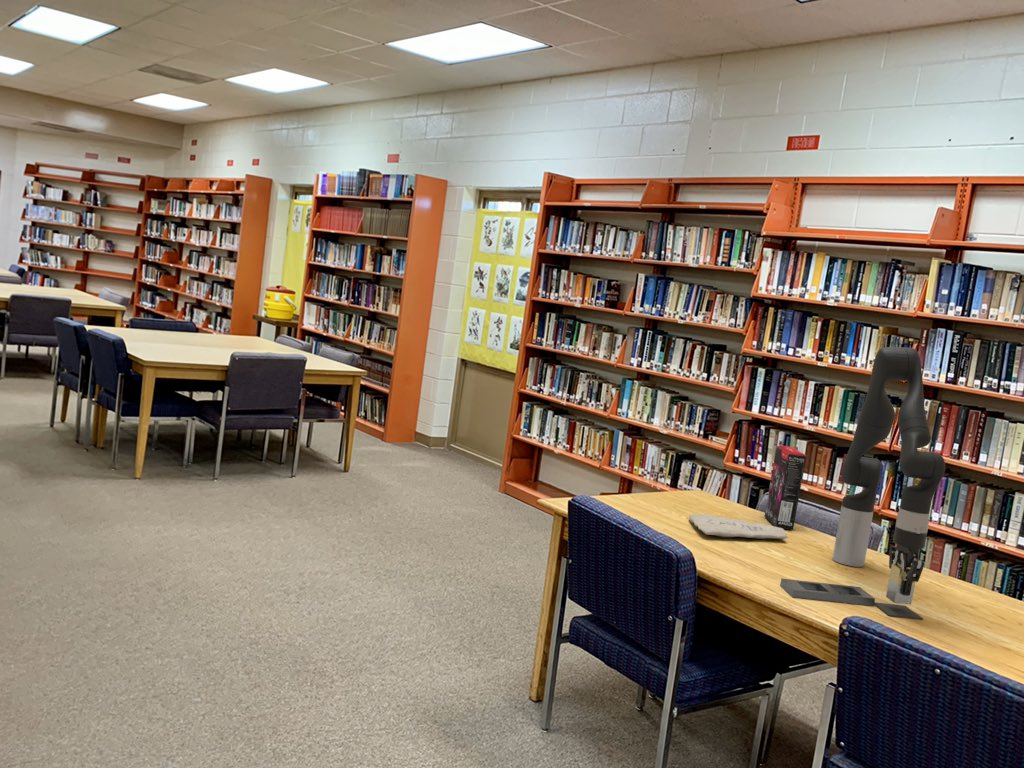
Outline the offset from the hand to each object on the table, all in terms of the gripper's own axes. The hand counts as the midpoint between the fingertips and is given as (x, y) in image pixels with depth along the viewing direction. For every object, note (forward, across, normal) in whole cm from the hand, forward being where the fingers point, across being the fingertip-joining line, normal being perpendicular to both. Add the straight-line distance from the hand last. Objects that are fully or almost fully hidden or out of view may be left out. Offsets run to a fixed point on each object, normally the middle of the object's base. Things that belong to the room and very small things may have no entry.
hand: (900, 591), depth 223 cm
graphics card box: (+5, -85, -1) cm, 85 cm away
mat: (+5, 0, 0) cm, 5 cm away
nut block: (+3, 0, 0) cm, 3 cm away
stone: (+6, -63, -23) cm, 67 cm away
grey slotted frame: (+5, -7, -16) cm, 18 cm away
